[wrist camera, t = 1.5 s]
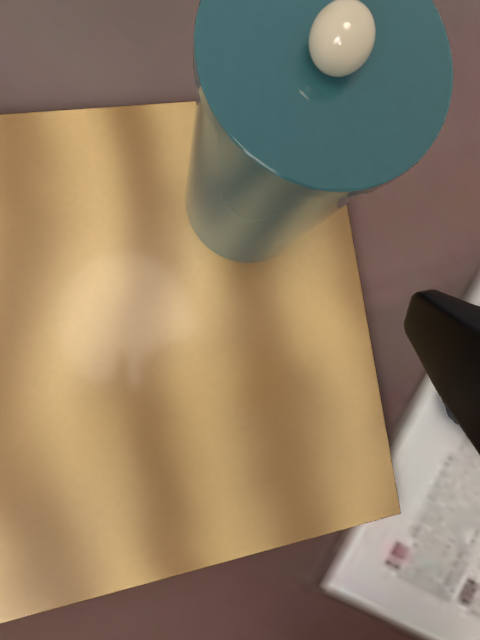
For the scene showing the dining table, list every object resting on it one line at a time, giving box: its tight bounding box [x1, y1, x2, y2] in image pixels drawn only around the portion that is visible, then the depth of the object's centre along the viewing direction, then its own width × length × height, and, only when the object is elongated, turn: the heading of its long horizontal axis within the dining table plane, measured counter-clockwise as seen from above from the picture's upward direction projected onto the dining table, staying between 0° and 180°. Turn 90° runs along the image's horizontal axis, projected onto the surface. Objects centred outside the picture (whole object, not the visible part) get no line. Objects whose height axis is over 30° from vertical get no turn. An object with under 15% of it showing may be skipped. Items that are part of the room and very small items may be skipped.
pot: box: [185, 0, 453, 263], centre depth 16 cm, size 7×7×13 cm
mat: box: [0, 101, 401, 623], centre depth 21 cm, size 24×24×1 cm
